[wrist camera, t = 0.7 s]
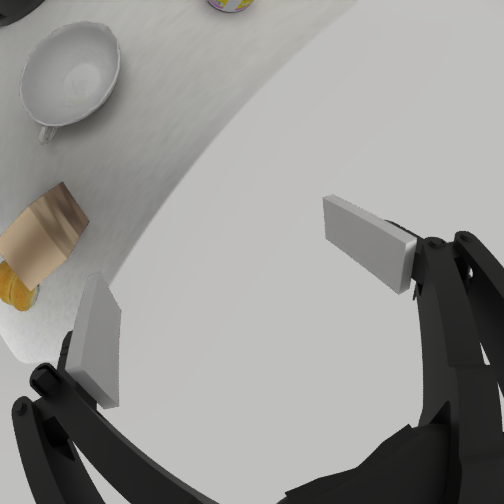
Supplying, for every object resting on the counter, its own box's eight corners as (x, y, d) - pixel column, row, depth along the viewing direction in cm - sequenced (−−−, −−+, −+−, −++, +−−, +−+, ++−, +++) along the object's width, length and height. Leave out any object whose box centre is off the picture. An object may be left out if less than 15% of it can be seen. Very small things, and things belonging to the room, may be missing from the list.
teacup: (71, 30, 21) (54, 11, 14) (145, 54, 27) (143, 36, 20) (23, 129, 24) (-5, 132, 18) (93, 155, 30) (78, 162, 24)
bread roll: (2, 250, 30) (-9, 261, 26) (43, 276, 34) (36, 289, 31) (-6, 288, 31) (-15, 300, 27) (33, 311, 35) (26, 326, 32)
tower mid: (14, 225, 24) (-7, 244, 19) (47, 191, 25) (28, 206, 20) (45, 266, 28) (30, 291, 23) (79, 237, 29) (67, 259, 24)
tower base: (30, 211, 30) (14, 225, 24) (62, 181, 30) (47, 191, 25) (57, 247, 33) (45, 266, 28) (89, 220, 34) (79, 237, 29)
